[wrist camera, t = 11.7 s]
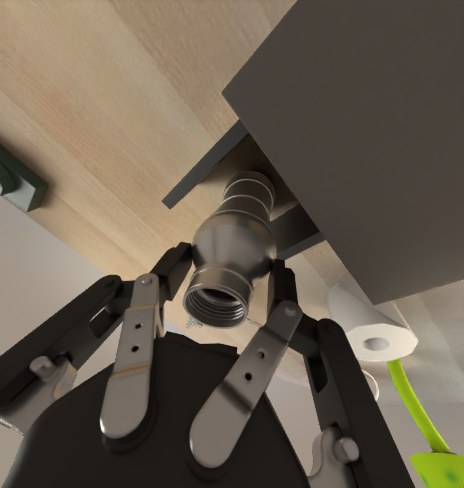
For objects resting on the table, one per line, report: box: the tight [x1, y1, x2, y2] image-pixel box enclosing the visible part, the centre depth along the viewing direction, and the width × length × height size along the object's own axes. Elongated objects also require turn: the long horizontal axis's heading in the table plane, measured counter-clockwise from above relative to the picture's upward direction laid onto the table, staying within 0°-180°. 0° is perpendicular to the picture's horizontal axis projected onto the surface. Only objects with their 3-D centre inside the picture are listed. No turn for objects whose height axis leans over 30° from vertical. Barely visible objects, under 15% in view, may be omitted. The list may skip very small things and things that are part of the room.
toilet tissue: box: [326, 271, 418, 362], centre depth 30 cm, size 9×13×9 cm
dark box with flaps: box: [162, 0, 464, 306], centre depth 18 cm, size 19×14×17 cm
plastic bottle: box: [183, 171, 276, 329], centre depth 19 cm, size 6×7×20 cm
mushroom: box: [387, 358, 464, 488], centre depth 30 cm, size 8×8×25 cm
